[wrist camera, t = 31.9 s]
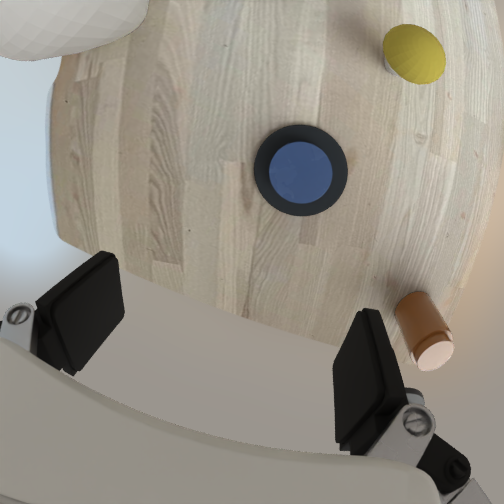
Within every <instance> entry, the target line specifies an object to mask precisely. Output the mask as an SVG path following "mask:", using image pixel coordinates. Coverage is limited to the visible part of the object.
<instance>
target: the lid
mask: <svg viewBox="0 0 504 504" xmlns="http://www.w3.org/2000/svg"><path fill="white" fill-rule="evenodd" d="M332 174H333V173H332V166H331V163H330V160H329V159H328V157H327V155H326V154H325V153H324V152H323V150H321V149H320V148H319V147H317V146H315V145H313V143H312V144H311V143H308V142H303V141H296V142H291V143H288V144H286V145H284V146H283V147H282V148H280V149H278V150H277V152H276V153H275V155H274V156H273V158H272V159H271V163H270V167H269V177H270V181H271V184H272V186H273V188H274V189H275V191H276V192H277V193H278V194H279V195H280V196H281V197H283V198H284V199H286V200H288V201H290V202H294V203H302V204H303V203H309V202H313V201H315V200H317V199H319V198H320V197H321V196H322V195H324V194H325V192H326V191H327V190H328V188H329V186H330V184H331V180H332Z"/></svg>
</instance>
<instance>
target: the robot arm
mask: <svg viewBox="0 0 504 504" xmlns="http://www.w3.org/2000/svg"><path fill="white" fill-rule="evenodd" d="M35 302H36V306H37V309H36V310H34V308H33V306H32V305H30V304H28V303H19V304H15V305H13V306H12V307H10V308H9V309H8V310H7V311H6V313H5V315H4V317H3V321H0V504H492V503H491V502H490V500H489V499H488V497H487V496H486V494H485V493H484V492H483V490H482V489H481V487H480V486H479V485H478V483H477V482H476V480H475V479H474V478H472V479H471V480H470V479H469V477H470V474H471V467H470V463H469V461H468V459H467V458H466V457H465V456H464V455H463V454H461V453H460V452H459V451H457V450H456V449H455V448H453V447H452V446H451V445H449V444H448V443H447V442H445V441H444V440H443V439H441V438H440V437H439V436H437V435H436V434H434V431H435V428H436V423H435V418H434V416H433V414H432V413H431V411H430V410H429V409H427V408H426V407H425V406H423V405H421V404H417V403H411V404H409V403H408V399H407V395H406V391H405V387H404V383H403V380H402V376H401V373H400V369H399V366H398V363H397V359H396V356H395V353H394V350H393V348H392V347H391V344H390V341H389V338H388V335H387V332H386V329H385V326H384V323H383V320H382V317H381V314H380V312H379V310H374V309H368V308H363V310H362V311H358V312H357V313H356V316H355V318H354V320H353V322H352V325H351V327H350V329H349V331H348V333H347V336H346V338H345V340H344V342H343V344H342V346H341V348H340V350H339V352H338V354H337V356H336V358H335V360H334V363H333V385H334V407H335V440H336V443H340V451H350V455H337V454H322V453H310V452H300V451H292V450H285V449H277V448H271V447H264V446H258V445H253V444H248V443H242V442H237V441H233V440H229V439H225V438H221V437H217V436H213V435H209V434H205V433H202V432H198V431H195V430H191V429H188V428H185V427H182V426H179V425H176V424H173V423H170V422H167V421H164V420H161V419H158V418H156V417H153V416H150V415H148V414H145V413H143V412H140V411H138V410H135V409H133V408H131V407H128V406H126V405H124V404H122V403H119V402H117V401H115V400H113V399H111V398H108V397H106V396H104V395H102V394H100V393H98V392H96V391H94V390H92V389H90V388H88V387H86V386H85V385H83V384H81V383H79V382H77V381H75V380H74V379H72V378H70V377H68V376H67V375H65V374H63V373H62V372H60V370H61V369H62V368H63V370H64V371H65V372H67V373H68V374H70V375H72V376H74V375H75V374H76V372H77V371H81V370H82V369H83V367H84V366H85V364H86V363H87V362H88V361H89V360H90V358H91V357H92V356H93V354H94V353H95V352H96V351H97V349H98V348H99V347H100V346H101V344H102V343H103V342H104V341H105V340H106V338H107V337H108V336H109V335H110V333H111V332H112V331H113V330H114V329H115V327H116V326H117V325H118V324H119V323H120V321H121V320H122V319H123V317H124V313H125V310H124V303H123V297H122V290H121V282H120V274H119V264H118V259H117V258H116V257H115V255H114V254H113V253H109V252H106V251H100V252H98V253H97V254H95V255H94V256H93V257H92V258H90V259H89V260H87V261H86V262H85V263H83V264H82V265H81V266H79V267H78V268H77V269H75V270H74V271H73V272H71V273H70V274H69V275H68V276H66V277H65V278H64V279H62V280H61V281H60V282H59V283H58V284H56V285H55V286H54V287H52V288H51V289H50V290H49V291H47V292H46V293H45V294H44V295H43V296H42V297H40V298H39V299H38V300H37V301H35Z"/></svg>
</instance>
